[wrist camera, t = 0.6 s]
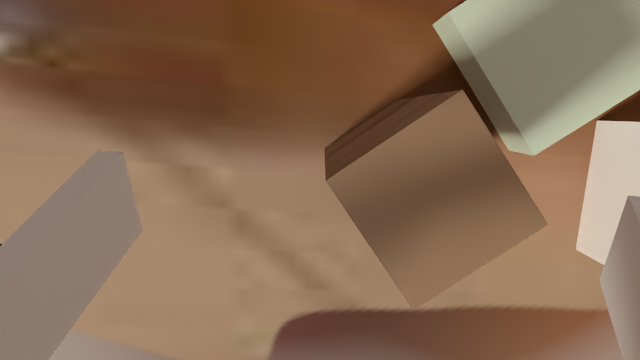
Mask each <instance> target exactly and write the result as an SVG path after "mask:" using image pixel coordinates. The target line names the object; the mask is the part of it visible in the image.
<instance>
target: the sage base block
mask: <svg viewBox="0 0 640 360" xmlns="http://www.w3.org/2000/svg"><path fill="white" fill-rule="evenodd" d="M433 26H434V28H435V30H436V31H437V33H438V35H439V36H440V38H441V40H442V41H443V43H444V45H445V46H446V48H447V49H448V51H449V53H450V54H451V56H452V58H453V59H454V61H455V63H456V64H457V66H458V68H459V69H460V71H461V72H462V74H463V76H464V77H465V79H466V81H467V82H468V84H469V86H470V87H471V89H472V91H473V92H474V94H475V96H476V97H477V99H478V100H479V102H480V104H481V105H482V107H483V109H484V110H485V112H486V114H487V115H488V117H489V119H490V120H491V122H492V124H493V125H494V127H495V128H496V130H497V132H498V133H499V135H500V137H501V138H502V140H503V142H504V143H505V145H506V147H507V148H508V150H510V151H514V152H519V153H524V154H529V155H533V156H535V155H536V154H538V153H539V152H541V151H543V150H544V149H546V148H547V147H549V146H551V145H552V144H554V143H555V142H557V141H559V140H560V139H562V138H563V137H565V136H567V135H568V134H570V133H571V132H573V131H575V130H576V129H578V128H579V127H581V126H583V125H584V124H586V123H587V122H589V121H591V120H592V119H594V118H595V117H597V116H599V115H600V114H602V113H603V112H605V111H607V110H608V109H610V108H611V107H613V106H615V105H616V104H618V103H619V102H621V101H623V100H624V99H626V98H627V97H629V96H631V95H632V94H634V93H635V92H637V91H639V90H640V0H466V1H465V2H463V3H462V4H460V5H459V6H457V7H456V8H454V9H452V10H451V11H449V12H448V13H447V14H445V15H444V16H443V17H442V18H440V19H439V20H438V21H436V22H435V23H434V24H433Z"/></svg>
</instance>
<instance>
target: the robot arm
mask: <svg viewBox="0 0 640 360" xmlns="http://www.w3.org/2000/svg"><path fill="white" fill-rule="evenodd" d="M141 231H142V227H141V223H140V219H139V215H138V211H137V207H136V203H135V199H134V195H133V191H132V187H131V183H130V179H129V175H128V171H127V167H126V163H125V159H124V155H123V152H112V151H101V150H98V151H97V152H96V153H95V154H94V155H93V156H92V157H91V158H90V159H89V160H88V161H86V162H85V163H84V164H83V165H82V166H81V167H80V168H79V169H78V170H77V171H76V172H75V173H74V174H73V175H72V176H71V177H70V178H69V179H68V180H67V181H66V182H65V183H64V184H63V185H62V186H61V187H60V188H59V189H58V190H57V191H56V192H55V193H54V194H53V195H52V196H51V197H50V198H49V199H48V200H47V201H46V202H45V203H44V204H43V205H42V206H41V207H40V208H39V209H38V210H37V211H36V212H35V213H34V214H33V215H32V216H31V217H30V218H29V219H28V220H27V221H26V222H25V223H24V224H23V225H22V226H21V227H19V228H18V229H17V230H16V231H15V232H14V233H13V234H12V235H11V236H10V237H9V238H8V239H7V240H6V241H5V242H4V243H3V244H0V360H48V359H49V358H50V357H51V355H52V354H53V353H54V351H55V350H56V348H57V347H58V346H59V344H60V343H61V341H62V340H63V339H64V337H65V336H66V335H67V333H68V332H69V330H70V329H71V328H72V326H73V325H74V324H75V322H76V321H77V319H78V318H79V317H80V315H81V314H82V312H83V311H84V310H85V308H86V307H87V306H88V304H89V303H90V301H91V300H92V299H93V297H94V296H95V295H96V293H97V292H98V290H99V289H100V288H101V286H102V285H103V283H104V282H105V281H106V279H107V278H108V277H109V275H110V274H111V272H112V271H113V270H114V268H115V267H116V266H117V264H118V263H119V261H120V260H121V259H122V257H123V256H124V254H125V253H126V252H127V250H128V249H129V248H130V246H131V245H132V243H133V242H134V241H135V239H136V238H137V237H138V235H139V234H140V232H141ZM599 281H600V284H601V287H602V291H603V294H604V297H605V300H606V304H607V307H608V310H609V314H610V317H611V320H612V324H613V327H614V330H615V333H616V337H617V340H618V343H619V346H620V350H621V353H622V357H623V359H624V360H640V197H639V196H628V197H627V200H626V203H625V206H624V209H623V212H622V215H621V218H620V221H619V224H618V227H617V230H616V233H615V236H614V239H613V242H612V244H611V247H610V250H609V253H608V256H607V259H606V262H605V265H604V268H603V271H602V274H601V277H600V280H599Z"/></svg>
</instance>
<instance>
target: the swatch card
mask: <svg viewBox="0 0 640 360" xmlns="http://www.w3.org/2000/svg"><path fill="white" fill-rule="evenodd" d="M628 196H639V197H640V122H626V121H597V123H596V129H595V135H594V141H593V147H592V153H591V159H590V165H589V171H588V177H587V183H586V189H585V195H584V201H583V208H582V214H581V220H580V226H579V232H578V238H577V244H576V250H578V251H580V252H581V253H583V254H585V255H587V256H589V257H591V258H592V259H594V260H596V261H598V262H600V263H602V264H603V265H605V262H606V259H607V256H608V253H609V250H610V247H611V244H612V242H613V239H614V236H615V233H616V230H617V227H618V224H619V221H620V218H621V215H622V212H623V209H624V206H625V203H626V200H627V197H628Z"/></svg>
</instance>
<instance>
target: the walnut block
mask: <svg viewBox="0 0 640 360" xmlns="http://www.w3.org/2000/svg"><path fill="white" fill-rule="evenodd" d="M325 175H326V182H327V183H328V185H329V186H330V188H331V189H332V191H333V192H334V194H335V195H336V197H337V198H338V200H339V201H340V203H341V204H342V206H343V207H344V208H345V210H346V211H347V213H348V214H349V216H350V217H351V219H352V220H353V222H354V223H355V225H356V226H357V228H358V229H359V231H360V232H361V234H362V235H363V237H364V238H365V240H366V241H367V243H368V244H369V246H370V247H371V248H372V250H373V251H374V253H375V254H376V256H377V257H378V259H379V260H380V262H381V263H382V265H383V266H384V268H385V269H386V271H387V272H388V274H389V275H390V277H391V278H392V280H393V281H394V283H395V284H396V286H397V287H398V289H399V290H400V291H401V293H402V294H403V296H404V297H405V299H406V300H407V302H408V303H409V305H410V306H411V308H412V309H413V310H414V309H416V308H417V307H419V306H421V305H422V304H424V303H425V302H427V301H428V300H430V299H432V298H433V297H435V296H436V295H438V294H439V293H441V292H442V291H444V290H446V289H447V288H449V287H450V286H452V285H453V284H455V283H457V282H458V281H460V280H461V279H463V278H464V277H466V276H468V275H469V274H471V273H472V272H474V271H475V270H477V269H479V268H480V267H482V266H483V265H485V264H486V263H488V262H490V261H491V260H493V259H494V258H496V257H497V256H499V255H501V254H502V253H504V252H505V251H507V250H508V249H510V248H512V247H513V246H515V245H516V244H518V243H519V242H521V241H523V240H524V239H526V238H527V237H529V236H530V235H532V234H534V233H535V232H537V231H538V230H540V229H541V228H543V227H545V226H546V225H548V223H547V222H546V220H545V218H544V217H543V215H542V214H541V212H540V211H539V209H538V207H537V206H536V204H535V203H534V201H533V200H532V198H531V196H530V195H529V193H528V192H527V190H526V189H525V187H524V185H523V184H522V182H521V181H520V179H519V177H518V176H517V174H516V173H515V171H514V170H513V168H512V166H511V165H510V163H509V162H508V160H507V159H506V157H505V155H504V154H503V152H502V151H501V149H500V148H499V146H498V144H497V143H496V141H495V140H494V138H493V136H492V135H491V133H490V132H489V130H488V129H487V127H486V125H485V124H484V122H483V121H482V119H481V118H480V116H479V114H478V113H477V111H476V110H475V108H474V107H473V105H472V103H471V102H470V100H469V99H468V97H467V96H466V94H465V92H464V91H463V90H456V91H450V92H443V93H437V94H430V95H424V96H417V97H411V98H404V99H398V100H397V101H395V102H394V103H392V104H391V105H389V106H388V107H386V108H385V109H383V110H382V111H380V112H379V113H377V114H376V115H374V116H373V117H371V118H370V119H368V120H367V121H365V122H364V123H362V124H361V125H359V126H358V127H356V128H355V129H353V130H352V131H350V132H349V133H347V134H346V135H344V136H343V137H341V138H340V139H338V140H337V141H335V142H334V143H332V144H331V145H329V146H328V147H326V148H325Z"/></svg>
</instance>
